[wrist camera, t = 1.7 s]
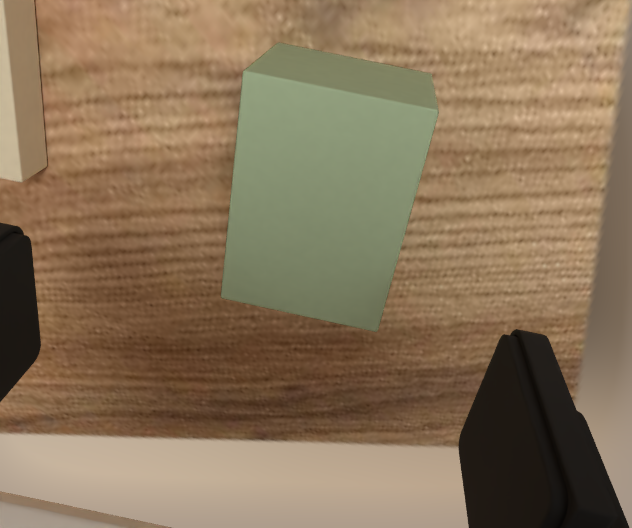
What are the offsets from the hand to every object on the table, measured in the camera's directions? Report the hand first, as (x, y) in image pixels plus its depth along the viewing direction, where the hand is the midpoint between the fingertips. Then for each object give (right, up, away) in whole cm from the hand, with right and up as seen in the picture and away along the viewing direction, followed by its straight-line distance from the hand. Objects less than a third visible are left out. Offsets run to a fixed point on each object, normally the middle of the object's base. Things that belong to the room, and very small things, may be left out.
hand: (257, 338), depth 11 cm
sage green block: (+2, +5, +9) cm, 10 cm away
